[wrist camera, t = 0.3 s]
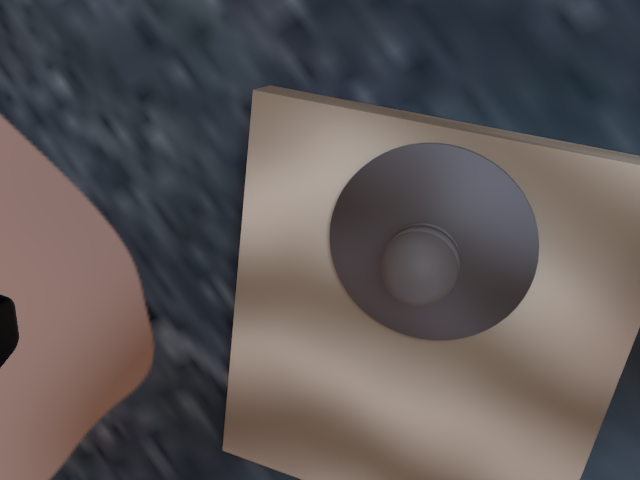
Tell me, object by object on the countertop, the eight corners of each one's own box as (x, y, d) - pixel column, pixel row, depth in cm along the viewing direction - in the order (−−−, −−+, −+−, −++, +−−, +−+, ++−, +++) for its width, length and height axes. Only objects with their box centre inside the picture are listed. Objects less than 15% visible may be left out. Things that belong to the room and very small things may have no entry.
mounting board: (544, 538, 25) (546, 647, 20) (237, 430, 28) (183, 503, 24) (687, 164, 18) (732, 210, 14) (270, 85, 22) (205, 102, 18)
